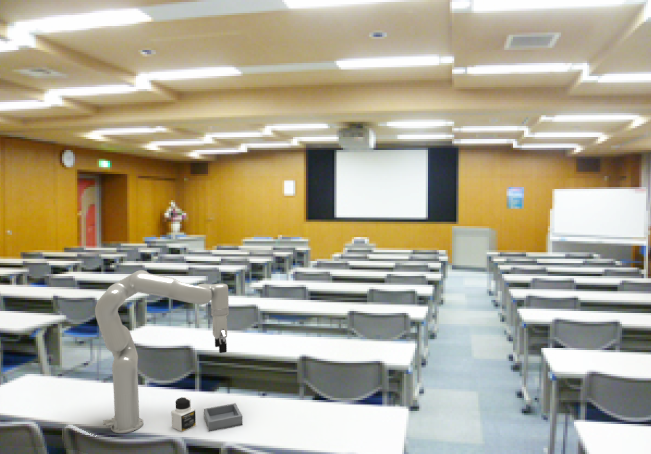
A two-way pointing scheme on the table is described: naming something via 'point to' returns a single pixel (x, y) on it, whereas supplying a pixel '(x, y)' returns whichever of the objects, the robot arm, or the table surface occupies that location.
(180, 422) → the medicine bottle
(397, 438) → the table surface
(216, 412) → the box
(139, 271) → the robot arm
